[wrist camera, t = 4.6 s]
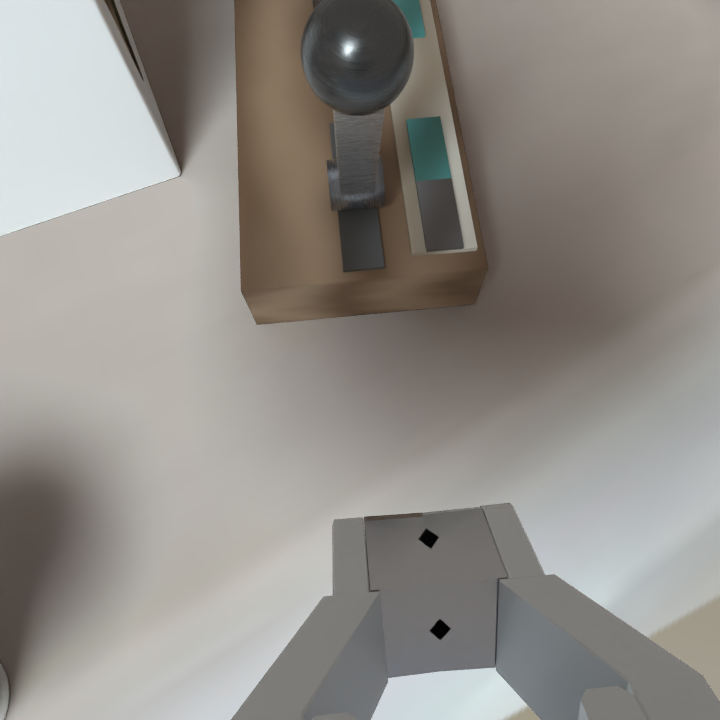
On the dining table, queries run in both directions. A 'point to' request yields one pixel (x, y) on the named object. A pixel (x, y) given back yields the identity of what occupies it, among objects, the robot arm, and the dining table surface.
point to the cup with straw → (3, 693)
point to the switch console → (311, 189)
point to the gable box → (73, 111)
